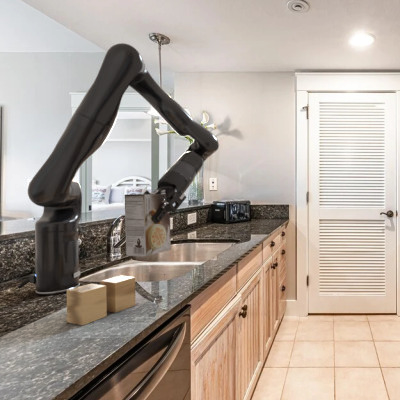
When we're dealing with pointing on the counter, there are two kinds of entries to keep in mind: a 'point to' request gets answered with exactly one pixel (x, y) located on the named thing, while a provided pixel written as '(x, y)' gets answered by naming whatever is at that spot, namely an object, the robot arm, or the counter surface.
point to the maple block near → (86, 304)
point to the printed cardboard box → (145, 225)
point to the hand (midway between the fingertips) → (143, 221)
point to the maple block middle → (119, 293)
